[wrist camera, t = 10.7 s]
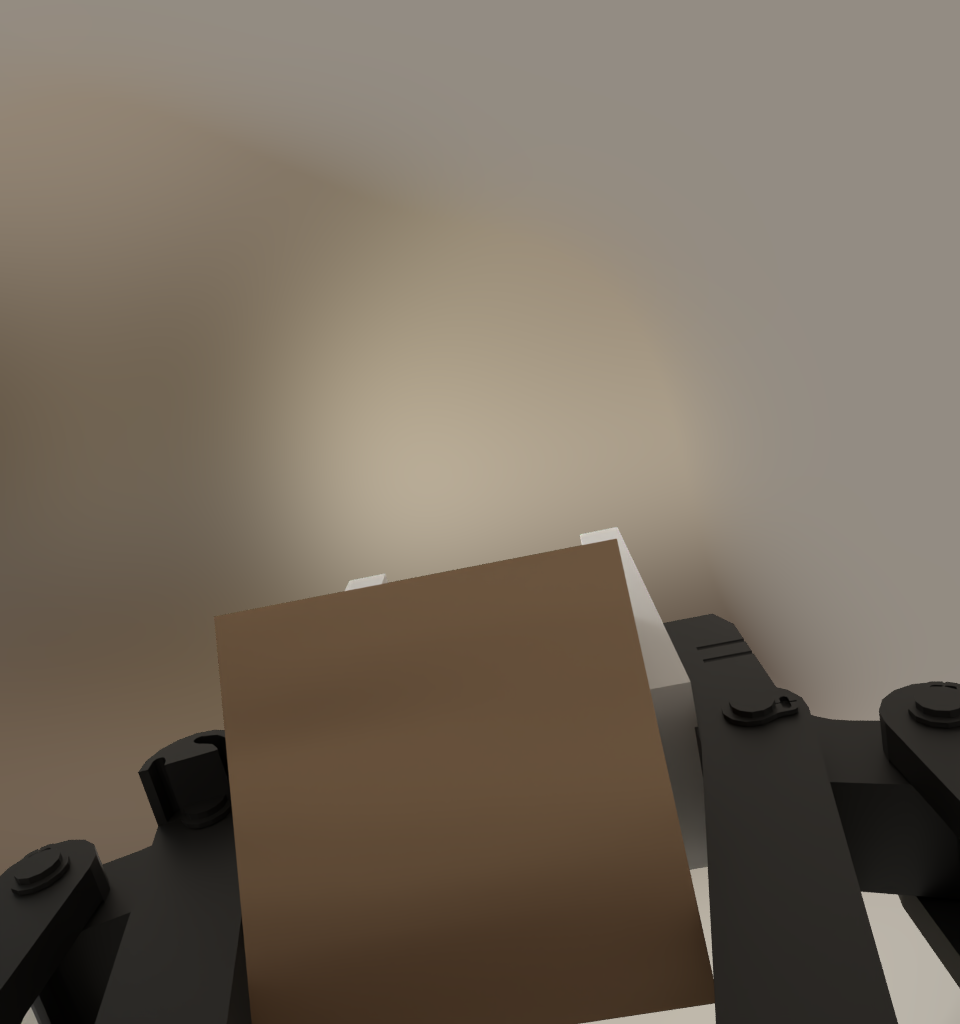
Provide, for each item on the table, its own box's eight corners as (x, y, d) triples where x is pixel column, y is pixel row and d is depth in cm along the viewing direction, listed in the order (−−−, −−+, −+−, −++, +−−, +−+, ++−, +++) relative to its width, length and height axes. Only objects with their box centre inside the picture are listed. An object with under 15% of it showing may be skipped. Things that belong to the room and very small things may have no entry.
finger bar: (778, 994, 7) (624, 336, 8) (201, 1080, 7) (151, 437, 9) (626, 773, 32) (594, 618, 33) (498, 795, 32) (472, 641, 34)
